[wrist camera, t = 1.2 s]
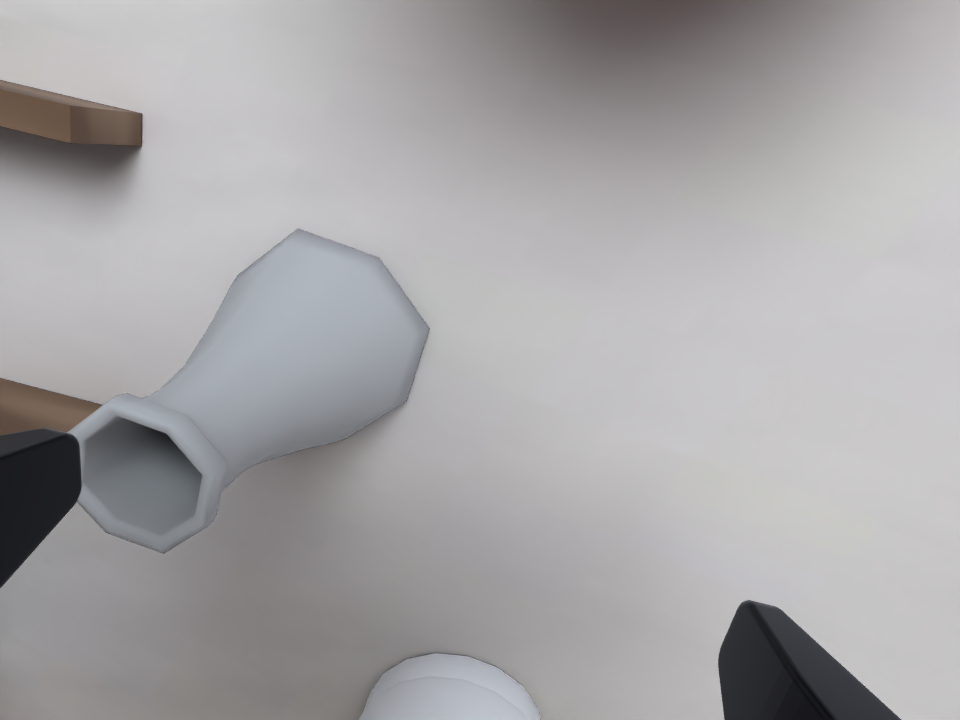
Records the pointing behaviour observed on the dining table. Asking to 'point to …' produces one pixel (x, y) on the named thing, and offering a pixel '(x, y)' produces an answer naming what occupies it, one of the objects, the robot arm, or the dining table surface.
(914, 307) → the dining table surface
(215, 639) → the dining table surface
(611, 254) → the dining table surface
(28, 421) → the bay
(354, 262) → the flask
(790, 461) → the dining table surface
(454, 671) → the bottle
